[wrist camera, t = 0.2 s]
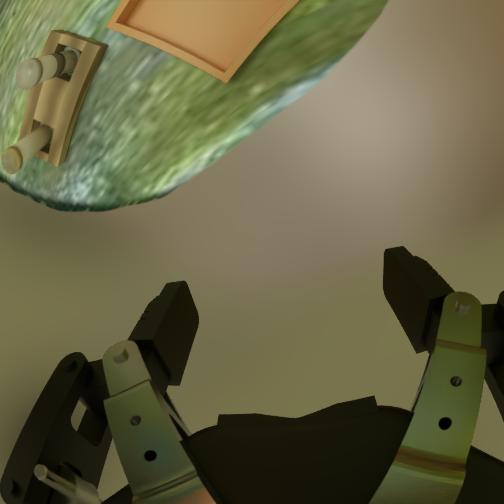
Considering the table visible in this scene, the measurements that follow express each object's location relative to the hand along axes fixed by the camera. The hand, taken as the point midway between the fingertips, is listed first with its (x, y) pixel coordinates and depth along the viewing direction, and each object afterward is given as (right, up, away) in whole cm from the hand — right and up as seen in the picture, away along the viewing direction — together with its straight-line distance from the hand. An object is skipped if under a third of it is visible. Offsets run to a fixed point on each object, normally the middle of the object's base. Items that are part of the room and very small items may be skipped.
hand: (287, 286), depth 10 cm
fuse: (-35, +21, +21) cm, 46 cm away
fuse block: (-31, +25, +17) cm, 44 cm away
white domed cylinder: (-27, +29, +14) cm, 42 cm away
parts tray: (-7, +33, +11) cm, 35 cm away
